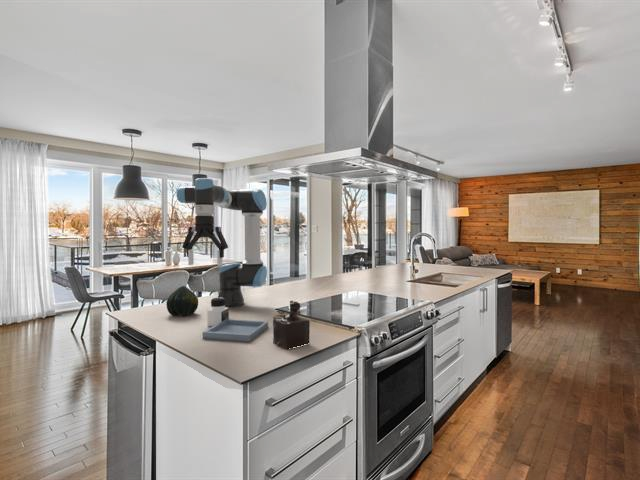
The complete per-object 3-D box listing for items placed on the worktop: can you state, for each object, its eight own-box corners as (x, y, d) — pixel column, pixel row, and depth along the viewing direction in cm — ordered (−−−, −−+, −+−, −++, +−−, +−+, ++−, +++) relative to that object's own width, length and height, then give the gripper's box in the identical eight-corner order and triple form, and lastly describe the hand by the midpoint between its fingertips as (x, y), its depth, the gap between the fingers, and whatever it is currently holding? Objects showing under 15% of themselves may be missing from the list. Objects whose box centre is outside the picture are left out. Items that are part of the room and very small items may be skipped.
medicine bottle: (221, 327, 161) (221, 300, 161) (207, 326, 163) (206, 299, 162) (229, 322, 168) (228, 297, 168) (214, 321, 170) (214, 296, 169)
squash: (176, 309, 170) (192, 282, 179) (155, 307, 178) (171, 281, 186) (194, 324, 180) (209, 298, 188) (174, 321, 187) (189, 296, 195)
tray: (226, 324, 164) (226, 319, 164) (268, 327, 160) (268, 321, 160) (202, 338, 145) (202, 332, 145) (249, 342, 141) (249, 335, 140)
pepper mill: (270, 343, 139) (270, 296, 139) (295, 337, 146) (294, 293, 145) (293, 354, 127) (293, 303, 126) (318, 348, 134) (318, 299, 133)
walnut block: (275, 324, 165) (275, 313, 165) (288, 325, 165) (288, 313, 164) (273, 328, 159) (273, 317, 159) (286, 328, 159) (286, 317, 158)
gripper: (173, 215, 153) (174, 265, 154) (227, 214, 148) (228, 266, 149) (183, 215, 161) (184, 263, 162) (235, 215, 155) (236, 264, 156)
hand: (205, 265), depth 155 cm, fingers open, 13 cm apart
